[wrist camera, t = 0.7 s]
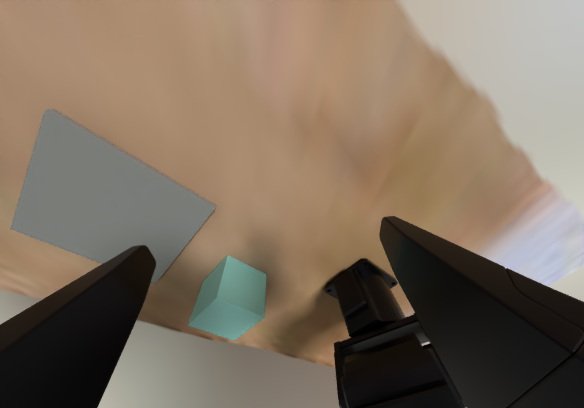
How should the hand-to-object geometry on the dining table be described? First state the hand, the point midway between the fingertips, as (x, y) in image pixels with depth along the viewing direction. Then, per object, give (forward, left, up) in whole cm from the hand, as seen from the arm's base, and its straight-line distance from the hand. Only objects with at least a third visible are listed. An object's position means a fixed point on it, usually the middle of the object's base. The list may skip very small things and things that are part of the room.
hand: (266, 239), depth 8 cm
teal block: (-6, +14, -10) cm, 18 cm away
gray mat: (+7, +13, -10) cm, 17 cm away
